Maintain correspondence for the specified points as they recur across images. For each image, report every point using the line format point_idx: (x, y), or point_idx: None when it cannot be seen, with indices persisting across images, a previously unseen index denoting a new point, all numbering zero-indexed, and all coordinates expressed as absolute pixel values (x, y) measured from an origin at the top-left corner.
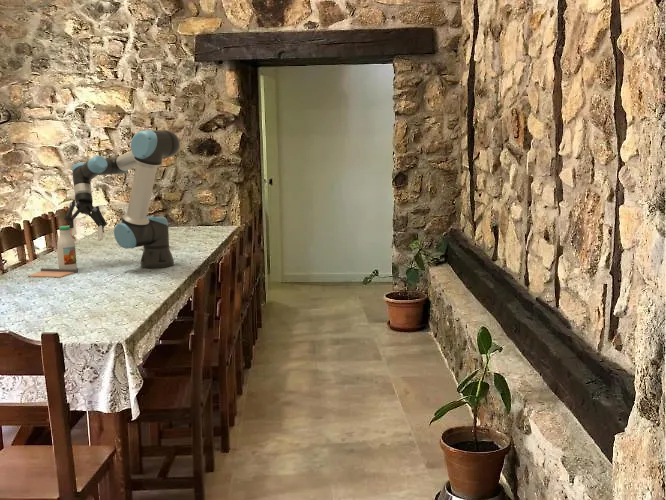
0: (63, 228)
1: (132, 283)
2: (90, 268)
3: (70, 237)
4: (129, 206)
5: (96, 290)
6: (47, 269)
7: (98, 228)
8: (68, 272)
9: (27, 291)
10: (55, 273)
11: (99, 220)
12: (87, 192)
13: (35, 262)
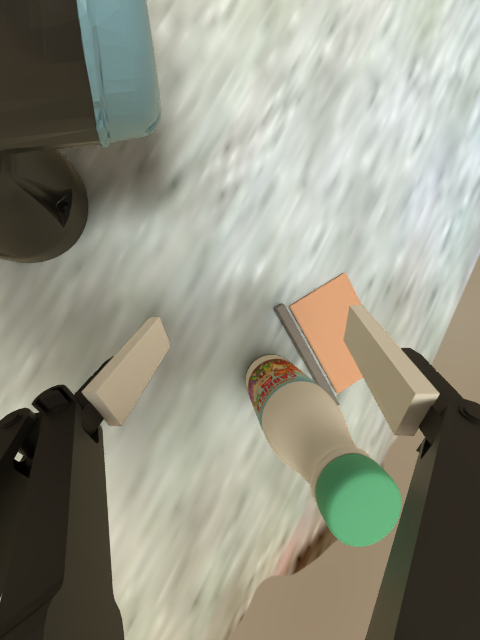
0: (382, 470)
1: (255, 3)
2: (216, 342)
3: (306, 419)
4: None
5: (368, 20)
6: (328, 385)
7: (123, 401)
8: (301, 313)
9: (467, 179)
10: (331, 328)
11: (52, 453)
12: None
13: (274, 556)
